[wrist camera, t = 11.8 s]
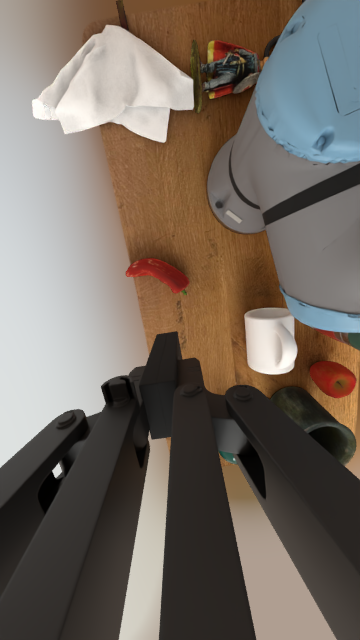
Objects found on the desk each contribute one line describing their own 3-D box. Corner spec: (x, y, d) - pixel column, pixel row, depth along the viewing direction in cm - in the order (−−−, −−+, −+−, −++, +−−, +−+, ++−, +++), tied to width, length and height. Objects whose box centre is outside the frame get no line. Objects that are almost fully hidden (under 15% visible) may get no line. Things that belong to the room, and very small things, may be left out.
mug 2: (316, 383, 45) (363, 423, 33) (306, 436, 49) (345, 490, 37) (267, 383, 45) (298, 423, 33) (261, 437, 49) (286, 490, 37)
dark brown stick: (148, 122, 33) (142, 124, 33) (148, 124, 33) (142, 125, 33) (122, -2, 29) (115, 1, 29) (122, 2, 29) (116, 4, 30)
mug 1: (242, 357, 43) (265, 390, 32) (239, 311, 41) (262, 328, 29) (281, 352, 43) (318, 383, 31) (280, 305, 41) (320, 320, 29)
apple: (318, 348, 43) (346, 365, 36) (337, 365, 44) (368, 384, 37) (296, 369, 44) (319, 389, 37) (315, 385, 45) (342, 407, 38)
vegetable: (182, 301, 41) (126, 275, 39) (194, 276, 40) (137, 248, 38) (183, 304, 36) (120, 275, 35) (197, 277, 35) (132, 246, 33)
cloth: (202, 38, 29) (202, 20, 27) (188, 149, 33) (188, 141, 31) (28, 19, 30) (15, 0, 28) (35, 131, 34) (24, 121, 32)
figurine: (192, 16, 27) (280, 11, 27) (188, 65, 32) (261, 60, 33) (201, 84, 27) (286, 77, 28) (195, 121, 32) (267, 115, 33)
